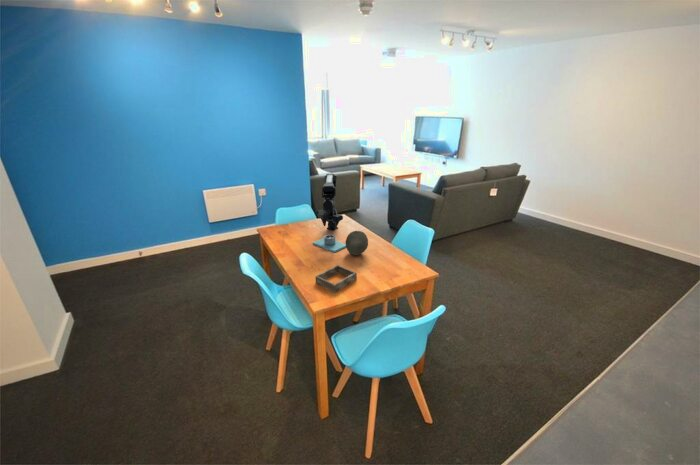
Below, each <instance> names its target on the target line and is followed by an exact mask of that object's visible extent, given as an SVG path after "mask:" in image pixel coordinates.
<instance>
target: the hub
mask: <svg viewBox="0 0 700 465" xmlns="http://www.w3.org/2000/svg"><path fill="white" fill-rule="evenodd" d="M329 237H331V238H329ZM323 238H324V243H325V245H327V246H333V245H335V241H336V235H335V234H325V235H324V236H323Z"/></svg>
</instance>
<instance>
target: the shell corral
mask: <svg viewBox="0 0 700 465" xmlns="http://www.w3.org/2000/svg"><path fill="white" fill-rule="evenodd" d="M337 273H338V274H341V275H343V276H346V277H344V278H343V279H341V280H339V281H338V282H336V283H334V282H331V281H329V280H327V279H329V278H330V277H332V276H334V275H336V274H337ZM357 276H358V274H357V272H356V271H354V270H352V269H350V268H346V267H344V266H342V265H339V264H336V265H334V266H333V267H331V268H329V269H326V270H325V271H323V272H321V273H319V274H316V275H315V284H316V285H318V286H321V287H322V288H325V289H326V290H329V291H331V292H332V293H338V291H340V290H342V289H344V288H345V287H347V286H349V285H350V284H352V283H353V282H354V281H356V280H357V278H358V277H357Z"/></svg>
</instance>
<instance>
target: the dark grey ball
mask: <svg viewBox="0 0 700 465" xmlns="http://www.w3.org/2000/svg"><path fill="white" fill-rule="evenodd" d="M345 244H346V249H347V251H348V253H349V254H351V255H354V256H358V255H362V254H364V252H365V251H366V250H367V248H368V246H369V239H368V236H367V234H366V233H365V232H363V231H361V230H353V231H351V232H349V234H348V235H347V236H346V238H345Z"/></svg>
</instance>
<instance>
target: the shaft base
mask: <svg viewBox="0 0 700 465" xmlns="http://www.w3.org/2000/svg"><path fill="white" fill-rule="evenodd" d="M329 238H331V237H329ZM312 245H315V246H317V247H320V248H322V249H325V250H327V251H330V252H332V253H337V252H339V251H342V250H343V249H345V248H346V243H343V242H341V241H338V240H335V245H333V246H327V245H325V243H324V237H322V238H320V239H318V240H314V241H312ZM346 249H347V248H346Z"/></svg>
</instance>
